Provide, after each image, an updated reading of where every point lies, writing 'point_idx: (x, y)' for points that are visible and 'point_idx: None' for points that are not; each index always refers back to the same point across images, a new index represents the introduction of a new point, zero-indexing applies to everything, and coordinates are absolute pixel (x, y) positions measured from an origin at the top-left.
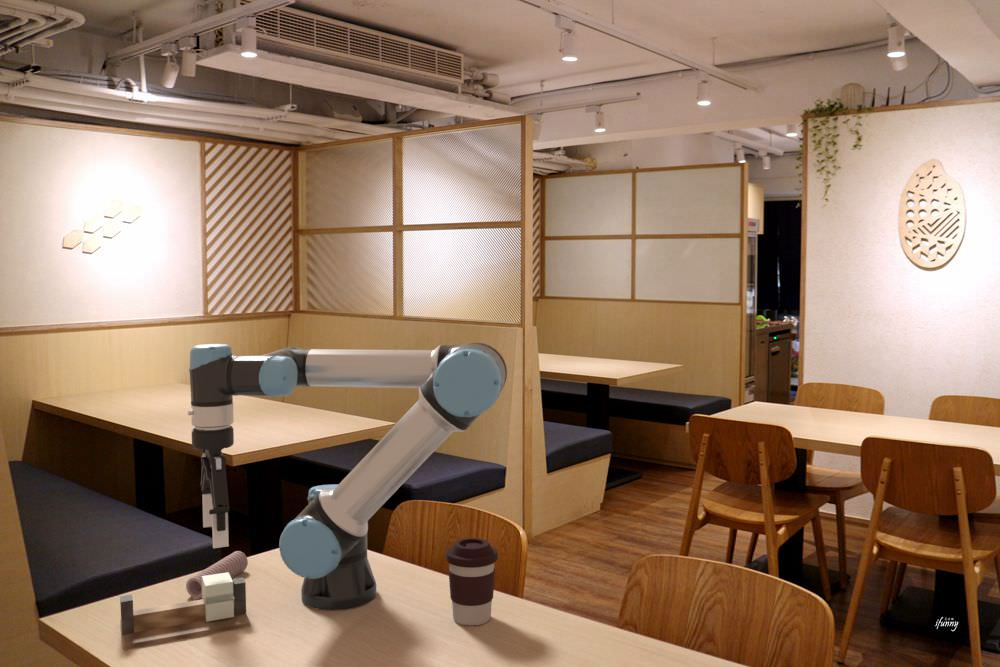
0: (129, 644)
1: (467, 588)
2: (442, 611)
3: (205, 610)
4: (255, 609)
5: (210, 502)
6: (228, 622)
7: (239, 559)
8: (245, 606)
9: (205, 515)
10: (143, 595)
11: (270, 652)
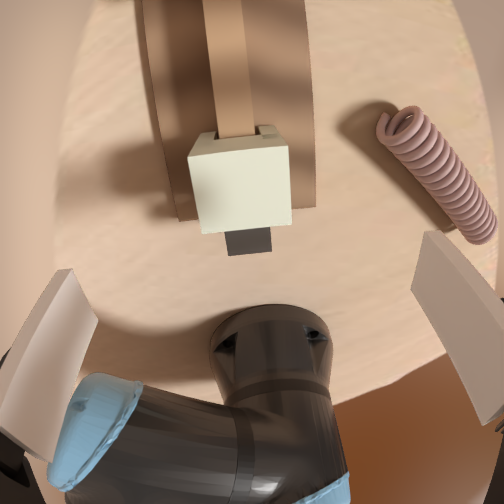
0: None
1: None
2: None
3: (212, 136)
4: None
5: (480, 361)
6: (190, 179)
7: (470, 232)
8: None
9: (455, 281)
10: (441, 28)
11: (72, 244)
